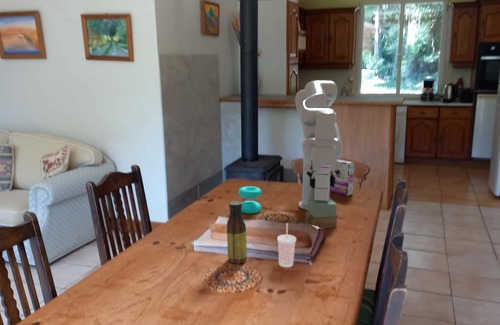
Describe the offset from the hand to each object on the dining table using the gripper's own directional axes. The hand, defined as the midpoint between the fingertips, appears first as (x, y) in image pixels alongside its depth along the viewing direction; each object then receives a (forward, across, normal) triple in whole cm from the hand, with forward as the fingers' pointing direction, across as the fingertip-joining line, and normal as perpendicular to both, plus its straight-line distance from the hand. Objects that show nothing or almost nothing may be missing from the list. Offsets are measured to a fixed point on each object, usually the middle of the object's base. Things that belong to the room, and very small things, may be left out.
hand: (322, 186), depth 174 cm
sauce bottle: (+16, +40, +25) cm, 50 cm away
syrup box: (+5, 0, 0) cm, 5 cm away
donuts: (+16, +24, -22) cm, 36 cm away
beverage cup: (+16, +25, +31) cm, 43 cm away
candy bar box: (+16, -27, -38) cm, 49 cm away
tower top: (+11, 0, 0) cm, 11 cm away
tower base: (+16, 0, 0) cm, 16 cm away
